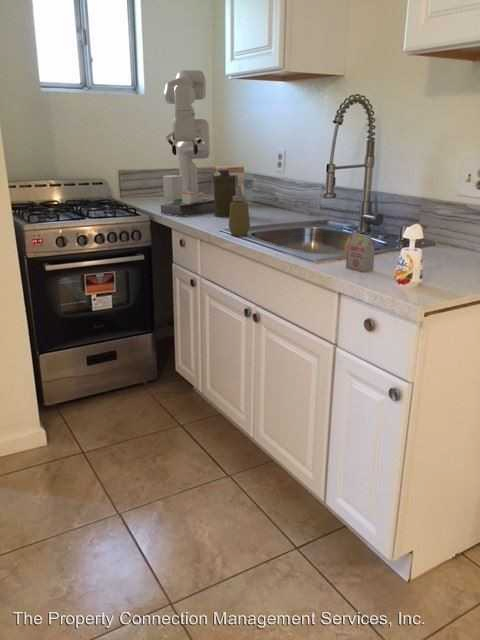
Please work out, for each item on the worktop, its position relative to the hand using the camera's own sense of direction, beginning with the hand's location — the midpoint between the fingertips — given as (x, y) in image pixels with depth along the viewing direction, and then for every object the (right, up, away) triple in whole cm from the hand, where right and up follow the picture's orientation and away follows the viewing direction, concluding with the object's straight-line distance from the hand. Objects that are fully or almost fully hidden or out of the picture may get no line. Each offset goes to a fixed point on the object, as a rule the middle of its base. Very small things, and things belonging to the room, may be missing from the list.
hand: (185, 154), depth 252 cm
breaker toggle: (+2, -21, +7) cm, 22 cm away
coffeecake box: (+20, -17, +31) cm, 40 cm away
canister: (+19, -29, -2) cm, 34 cm away
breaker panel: (+2, -25, +8) cm, 26 cm away
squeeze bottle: (+25, -45, -48) cm, 70 cm away
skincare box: (-8, -19, +25) cm, 32 cm away
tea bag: (+59, -62, -98) cm, 130 cm away
